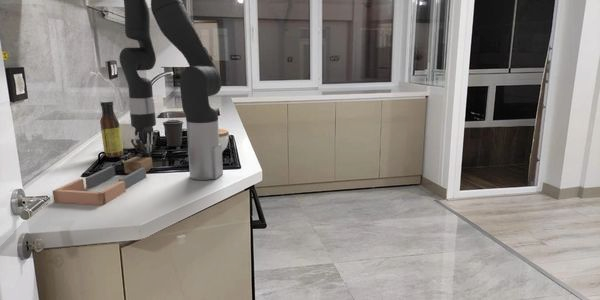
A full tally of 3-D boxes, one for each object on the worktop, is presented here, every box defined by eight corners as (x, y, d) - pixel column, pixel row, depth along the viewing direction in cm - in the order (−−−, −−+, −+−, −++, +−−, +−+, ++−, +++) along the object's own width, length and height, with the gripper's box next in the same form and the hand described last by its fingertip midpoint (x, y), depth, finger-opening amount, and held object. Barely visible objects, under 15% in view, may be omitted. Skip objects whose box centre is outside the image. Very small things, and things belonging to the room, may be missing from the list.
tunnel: (146, 177, 127) (145, 167, 126) (124, 190, 115) (122, 179, 115) (111, 175, 129) (110, 166, 128) (86, 188, 117) (85, 177, 116)
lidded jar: (226, 155, 153) (225, 130, 150) (197, 155, 153) (195, 130, 151) (231, 148, 163) (230, 124, 161) (204, 148, 163) (202, 124, 161)
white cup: (133, 149, 161) (130, 124, 158) (114, 148, 162) (112, 123, 160) (144, 145, 168) (142, 120, 166) (126, 144, 170) (124, 120, 168)
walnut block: (152, 169, 136) (151, 157, 135) (142, 175, 130) (140, 162, 129) (136, 168, 137) (135, 156, 136) (125, 173, 131) (123, 161, 130)
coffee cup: (186, 146, 166) (184, 121, 164) (164, 147, 164) (162, 122, 161) (184, 142, 174) (182, 118, 171) (163, 143, 171) (161, 119, 169)
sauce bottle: (127, 154, 154) (121, 100, 149) (114, 158, 148) (108, 102, 143) (113, 153, 156) (107, 99, 151) (100, 157, 150) (93, 102, 145)
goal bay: (125, 191, 114) (124, 181, 113) (102, 205, 104) (101, 193, 104) (80, 188, 116) (79, 178, 116) (54, 202, 106) (52, 190, 106)
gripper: (142, 115, 127) (147, 169, 131) (163, 108, 140) (167, 158, 144) (119, 114, 128) (125, 168, 132) (142, 108, 141) (147, 157, 145)
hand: (147, 163), depth 138 cm, fingers closed
